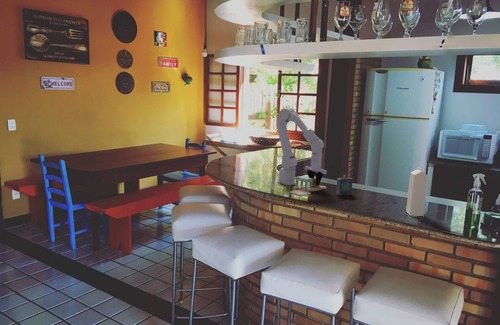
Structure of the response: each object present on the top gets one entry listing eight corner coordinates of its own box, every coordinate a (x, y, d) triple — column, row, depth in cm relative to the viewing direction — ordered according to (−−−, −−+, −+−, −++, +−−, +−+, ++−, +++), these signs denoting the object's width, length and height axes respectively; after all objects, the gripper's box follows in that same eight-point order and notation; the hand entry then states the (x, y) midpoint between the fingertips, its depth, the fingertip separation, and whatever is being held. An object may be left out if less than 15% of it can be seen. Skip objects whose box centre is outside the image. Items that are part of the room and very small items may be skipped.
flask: (337, 195, 209) (338, 175, 207) (334, 194, 211) (335, 174, 210) (352, 195, 212) (354, 175, 210) (349, 193, 214) (350, 174, 213)
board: (293, 188, 221) (293, 186, 221) (313, 185, 231) (313, 183, 231) (306, 192, 213) (306, 190, 213) (326, 188, 224) (326, 186, 224)
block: (309, 187, 225) (309, 178, 224) (314, 186, 228) (314, 178, 227) (314, 188, 222) (315, 180, 221) (319, 188, 224) (320, 179, 224)
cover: (295, 186, 220) (295, 176, 220) (301, 185, 224) (302, 175, 223) (305, 189, 214) (306, 179, 213) (312, 188, 217) (312, 178, 217)
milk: (409, 216, 177) (414, 168, 173) (405, 212, 183) (410, 165, 179) (423, 217, 176) (429, 168, 172) (419, 213, 182) (424, 166, 178)
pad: (289, 192, 211) (289, 191, 211) (300, 190, 216) (300, 189, 216) (300, 195, 205) (300, 194, 205) (310, 194, 210) (310, 192, 210)
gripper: (301, 159, 225) (300, 182, 227) (321, 163, 214) (319, 187, 216) (310, 158, 230) (308, 181, 232) (329, 162, 218) (328, 186, 221)
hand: (314, 184), depth 224 cm, fingers closed on block, 4 cm apart
